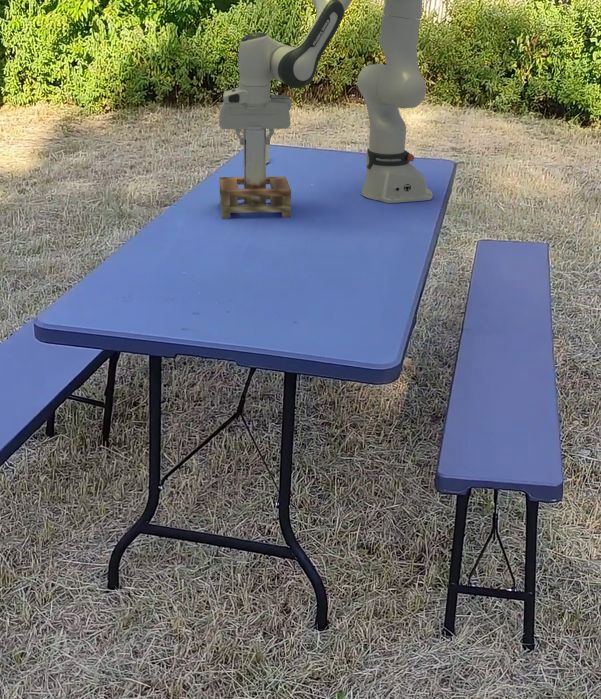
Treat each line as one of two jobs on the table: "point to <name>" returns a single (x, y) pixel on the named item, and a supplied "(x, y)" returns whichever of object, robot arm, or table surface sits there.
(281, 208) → the frame
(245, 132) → the silver metal cylinder
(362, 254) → the table surface
